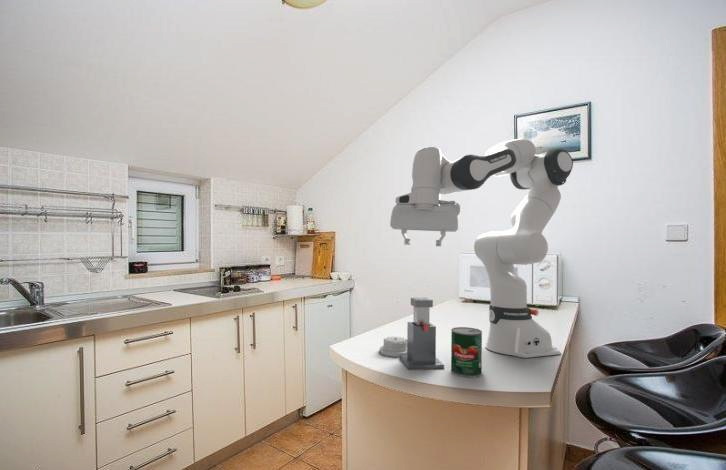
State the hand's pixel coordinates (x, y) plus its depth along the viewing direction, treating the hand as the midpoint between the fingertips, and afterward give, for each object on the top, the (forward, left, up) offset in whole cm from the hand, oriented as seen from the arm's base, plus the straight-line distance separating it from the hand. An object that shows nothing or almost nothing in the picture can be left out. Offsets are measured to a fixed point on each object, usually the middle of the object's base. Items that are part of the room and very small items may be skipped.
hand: (422, 245), depth 105 cm
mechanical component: (+6, -7, -34) cm, 35 cm away
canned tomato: (-8, +12, -34) cm, 37 cm away
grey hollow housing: (+2, +4, -34) cm, 34 cm away
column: (+2, +4, -32) cm, 33 cm away
